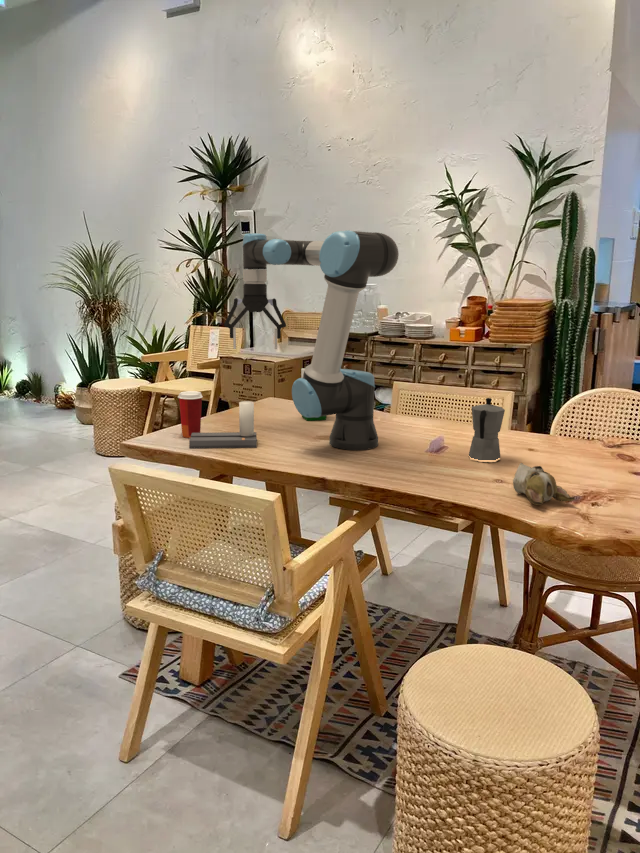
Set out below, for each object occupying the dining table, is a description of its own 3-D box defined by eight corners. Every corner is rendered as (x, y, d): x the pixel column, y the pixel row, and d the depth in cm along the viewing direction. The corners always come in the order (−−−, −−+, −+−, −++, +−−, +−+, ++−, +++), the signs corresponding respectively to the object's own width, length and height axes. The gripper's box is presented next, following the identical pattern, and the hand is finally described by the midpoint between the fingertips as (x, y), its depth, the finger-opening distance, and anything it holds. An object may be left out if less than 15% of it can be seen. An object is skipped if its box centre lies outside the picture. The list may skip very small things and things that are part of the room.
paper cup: (206, 433, 220) (205, 391, 217) (199, 439, 213) (198, 395, 210) (182, 432, 221) (181, 390, 218) (175, 438, 214) (174, 394, 210)
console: (256, 439, 214) (256, 431, 213) (256, 447, 204) (256, 439, 203) (192, 440, 212) (191, 432, 211) (189, 448, 202) (189, 440, 201)
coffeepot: (472, 451, 204) (476, 392, 200) (504, 455, 200) (509, 395, 196) (461, 464, 190) (465, 401, 186) (495, 468, 187) (500, 404, 183)
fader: (253, 439, 211) (253, 401, 208) (254, 442, 207) (253, 404, 204) (239, 439, 210) (239, 401, 208) (239, 442, 206) (239, 404, 203)
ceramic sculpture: (539, 454, 169) (580, 475, 155) (535, 487, 171) (575, 510, 158) (503, 458, 165) (542, 480, 152) (499, 491, 167) (537, 515, 154)
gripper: (292, 283, 224) (292, 347, 229) (216, 282, 222) (217, 347, 226) (294, 283, 217) (293, 350, 222) (215, 282, 214) (216, 349, 219)
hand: (255, 348), depth 224 cm, fingers open, 13 cm apart
